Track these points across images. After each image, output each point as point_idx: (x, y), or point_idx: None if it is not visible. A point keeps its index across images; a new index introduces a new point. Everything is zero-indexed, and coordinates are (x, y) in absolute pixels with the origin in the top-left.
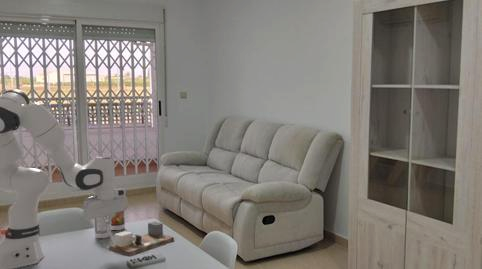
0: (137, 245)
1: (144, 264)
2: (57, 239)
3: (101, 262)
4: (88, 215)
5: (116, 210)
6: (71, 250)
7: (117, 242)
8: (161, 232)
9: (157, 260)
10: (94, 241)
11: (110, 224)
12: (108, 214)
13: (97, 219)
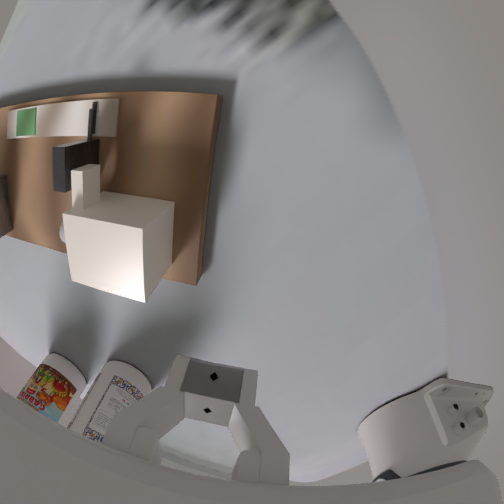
0: (106, 146)
1: None
2: (235, 448)
3: (386, 167)
4: (498, 496)
5: (31, 439)
6: (298, 387)
7: (164, 250)
8: None
9: None
10: None
11: (76, 394)
12: (189, 474)
13: None
